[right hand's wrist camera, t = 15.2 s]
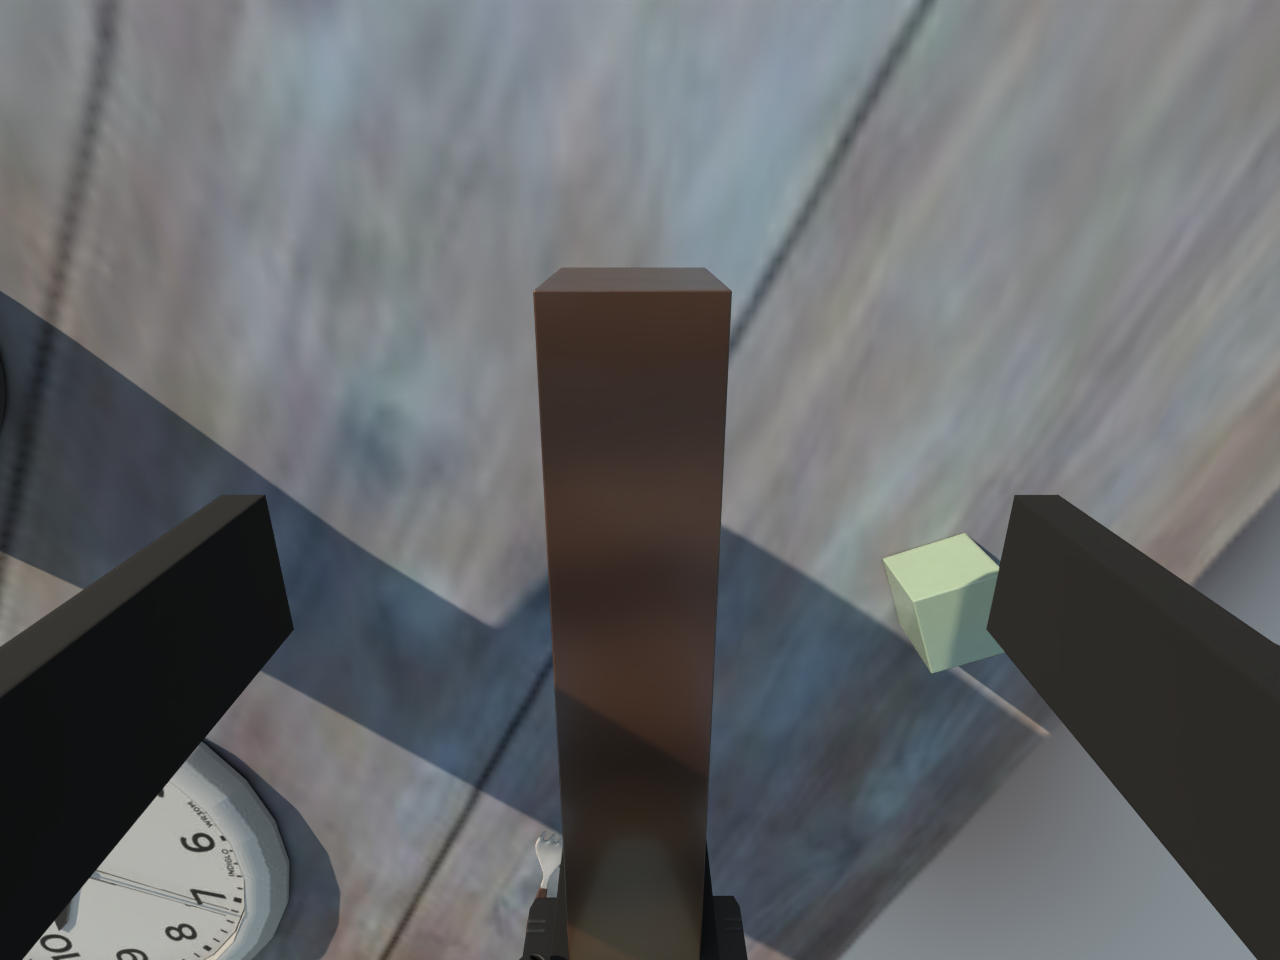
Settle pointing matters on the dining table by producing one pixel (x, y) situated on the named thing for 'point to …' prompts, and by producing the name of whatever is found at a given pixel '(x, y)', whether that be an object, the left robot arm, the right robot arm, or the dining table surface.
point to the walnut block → (633, 591)
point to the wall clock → (182, 878)
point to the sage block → (945, 600)
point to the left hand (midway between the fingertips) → (634, 842)
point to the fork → (548, 860)
